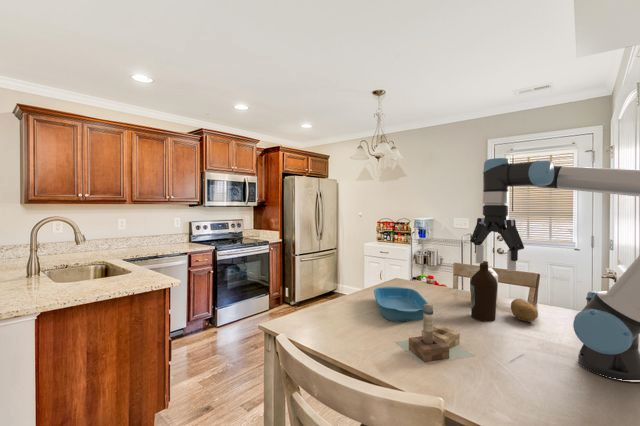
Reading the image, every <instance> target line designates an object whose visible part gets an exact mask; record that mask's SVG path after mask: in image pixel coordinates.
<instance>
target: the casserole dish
mask: <svg viewBox="0 0 640 426" xmlns="http://www.w3.org/2000/svg"><path fill="white" fill-rule="evenodd" d="M373 295H374V298H375V301H376V304H377V307H378V309H379V312H380V313H381V316H382V317H384V318H385V319H386V320H387V321H390V322H401V323H402V322H410V321H421V320H422V321H423V305H424V304H429V303H428V302H427V301H426V299H425V298H424V297H423V295H421V294H420V292H418V291H417V290H415V289H414V288H407V287H402V286H382V287H381V286H380V287H376V288H375V289H373Z"/></svg>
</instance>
